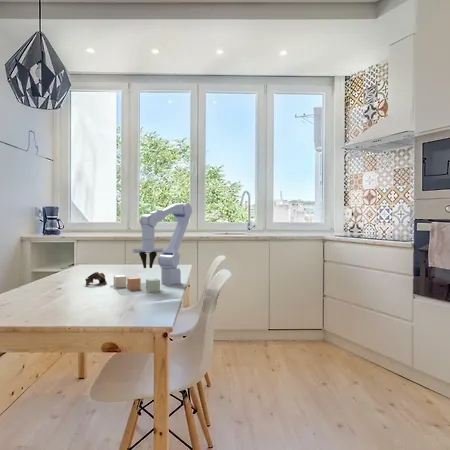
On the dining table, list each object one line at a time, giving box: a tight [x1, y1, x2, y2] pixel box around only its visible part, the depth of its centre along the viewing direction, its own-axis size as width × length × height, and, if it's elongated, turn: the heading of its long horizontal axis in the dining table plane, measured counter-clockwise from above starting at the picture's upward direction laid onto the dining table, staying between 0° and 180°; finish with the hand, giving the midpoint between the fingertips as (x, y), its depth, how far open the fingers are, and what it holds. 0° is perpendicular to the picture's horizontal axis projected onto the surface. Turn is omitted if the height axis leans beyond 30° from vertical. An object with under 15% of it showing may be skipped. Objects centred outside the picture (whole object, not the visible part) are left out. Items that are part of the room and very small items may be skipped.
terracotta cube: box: [126, 276, 142, 290], centre depth 177 cm, size 5×5×5 cm
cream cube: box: [113, 274, 127, 288], centre depth 183 cm, size 5×5×5 cm
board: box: [110, 282, 165, 296], centre depth 177 cm, size 19×26×1 cm
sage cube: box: [145, 278, 161, 293], centre depth 172 cm, size 5×5×5 cm
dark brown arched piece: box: [85, 271, 108, 286], centre depth 189 cm, size 12×10×8 cm
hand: (147, 267), depth 179 cm, fingers open, 2 cm apart
